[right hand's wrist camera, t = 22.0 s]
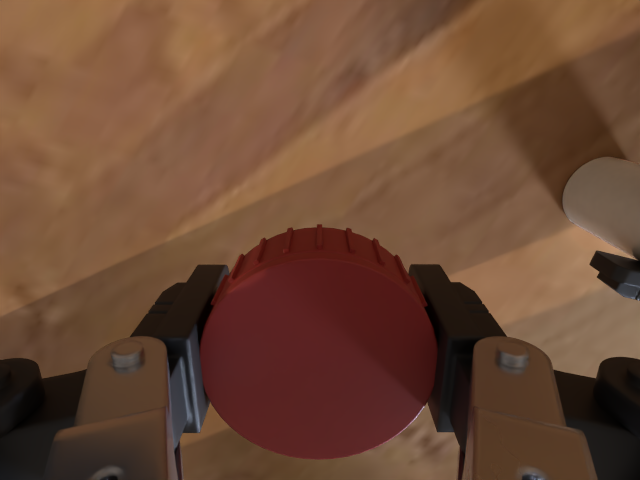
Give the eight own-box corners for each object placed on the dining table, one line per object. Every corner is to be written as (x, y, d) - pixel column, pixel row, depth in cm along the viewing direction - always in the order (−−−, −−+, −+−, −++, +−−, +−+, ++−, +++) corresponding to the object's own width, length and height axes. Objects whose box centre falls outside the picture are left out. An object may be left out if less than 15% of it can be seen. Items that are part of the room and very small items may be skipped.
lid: (444, 238, 10) (470, 272, 8) (399, 414, 12) (413, 473, 10) (221, 209, 10) (200, 238, 8) (210, 393, 11) (190, 449, 10)
